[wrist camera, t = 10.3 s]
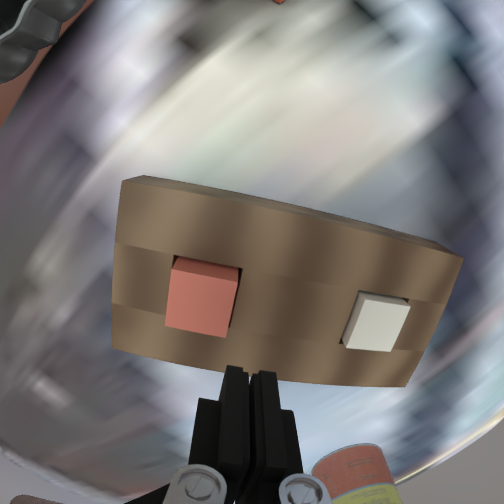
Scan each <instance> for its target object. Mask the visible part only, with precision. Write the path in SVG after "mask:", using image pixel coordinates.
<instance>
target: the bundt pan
mask: <svg viewBox="0 0 504 504" xmlns="http://www.w3.org/2000/svg"><path fill="white" fill-rule="evenodd" d="M85 2H86V0H0V84H1V83H5V82H8V81H10V80H12V79H14V78H16V77H17V76H19V75H20V74H22V73H23V72H24V71H25V70H26V69H27V68H28V67H29V66H30V64H31V63H32V62H33V60H34V59H35V57H36V55H37V53H38V50H39V49H42V48H45V47H48V46H50V45H53V44H55V43H56V42H57V41H58V37H59V33H60V29H61V25H62V23H63V22H65V21H67V20H68V19H70V18H71V17H72V16H74V15H75V14H76V13H77V12H78V11H79V10H80V9H81V7H82V6H83V5H84V3H85Z"/></svg>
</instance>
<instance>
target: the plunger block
mask: <svg viewBox="0 0 504 504" xmlns="http://www.w3.org/2000/svg"><path fill="white" fill-rule="evenodd" d="M179 256H183V257H188V258H193V259H198V260H203V261H208V262H213V263H218V264H223V265H228V266H233V267H238V284H237V289H236V293H235V298H234V303H233V307H232V312H231V316H230V321H229V325H228V330H227V334H226V338H223V337H218V336H212V335H207V334H202V333H197V332H192V331H187V330H182V329H177V328H173V327H168V326H165V319H166V310H167V301H168V293H169V285H170V277H171V269H172V267H173V266H174V264H175V262H176V260H177V258H178V257H179ZM463 260H464V258H463V257H461V256H459V255H457V254H456V253H454V252H452V251H450V250H448V249H447V248H445V247H443V246H441V245H439V244H438V243H436V242H433V241H429V240H426V239H423V238H419V237H416V236H412V235H409V234H405V233H402V232H398V231H395V230H391V229H387V228H384V227H380V226H376V225H373V224H369V223H365V222H361V221H357V220H353V219H350V218H346V217H342V216H338V215H334V214H330V213H326V212H321V211H317V210H313V209H309V208H305V207H300V206H296V205H292V204H287V203H283V202H279V201H274V200H270V199H265V198H260V197H256V196H251V195H246V194H242V193H237V192H232V191H227V190H222V189H217V188H212V187H207V186H201V185H196V184H191V183H185V182H180V181H174V180H168V179H163V178H157V177H151V176H145V175H142V176H138V177H134V178H130V179H127V180H123V181H122V185H121V192H120V200H119V208H118V217H117V226H116V237H115V249H114V263H113V282H112V348H114V349H118V350H121V351H125V352H129V353H133V354H137V355H141V356H145V357H149V358H153V359H158V360H162V361H167V362H171V363H176V364H181V365H186V366H191V367H196V368H201V369H206V370H212V371H218V372H224V373H225V370H226V366H227V365H232V366H238V367H243V372H248V373H249V376H250V377H252V374H253V373H256V374H258V372H259V370H264V371H271V372H276V375H277V380H281V381H291V382H301V383H312V384H324V385H340V386H361V387H405V386H406V385H407V383H408V381H409V379H410V378H411V376H412V374H413V372H414V370H415V369H416V367H417V365H418V363H419V361H420V359H421V357H422V355H423V353H424V351H425V349H426V348H427V346H428V343H429V341H430V339H431V337H432V335H433V333H434V331H435V329H436V327H437V325H438V322H439V320H440V318H441V316H442V313H443V311H444V309H445V307H446V304H447V302H448V299H449V297H450V294H451V292H452V289H453V287H454V284H455V282H456V279H457V277H458V274H459V271H460V268H461V266H462V263H463ZM359 290H362V291H368V292H373V293H379V294H385V295H391V296H396V297H401V298H402V299H403V300H404V301H405V302H406V303H407V304H408V305H409V306H410V310H409V312H408V314H407V317H406V319H405V321H404V324H403V326H402V328H401V330H400V333H399V335H398V337H397V339H396V341H395V343H394V346H393V348H392V350H391V352H386V351H373V350H362V349H352V348H346V347H345V345H344V343H343V341H342V339H341V336H342V333H343V331H344V328H345V326H346V323H347V321H348V318H349V315H350V313H351V310H352V307H353V305H354V302H355V299H356V296H357V294H358V291H359Z"/></svg>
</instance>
